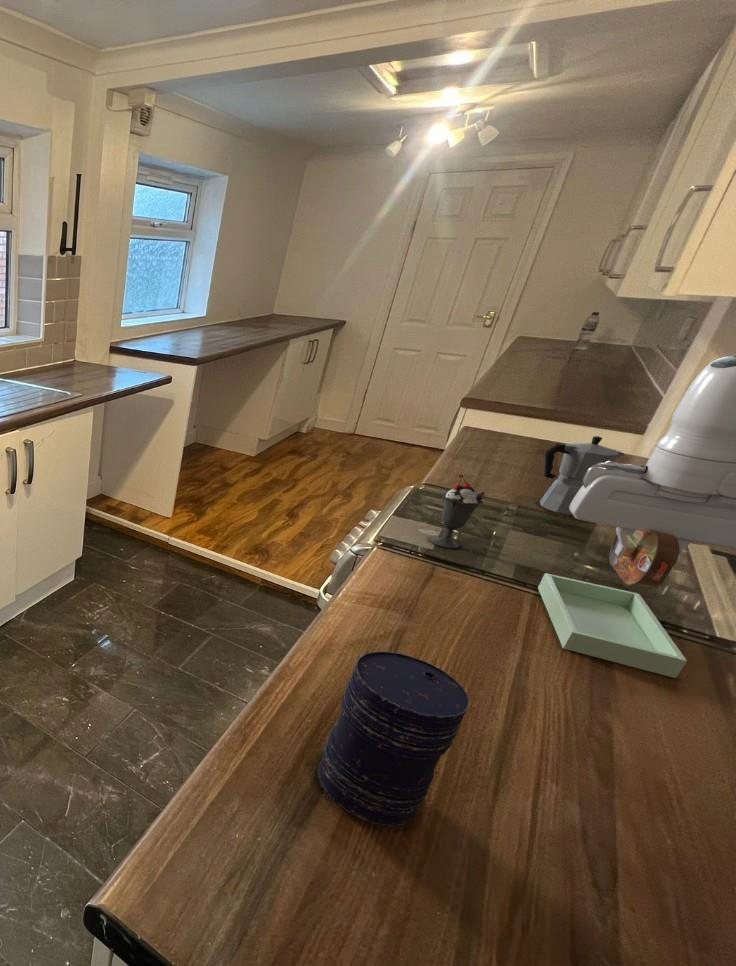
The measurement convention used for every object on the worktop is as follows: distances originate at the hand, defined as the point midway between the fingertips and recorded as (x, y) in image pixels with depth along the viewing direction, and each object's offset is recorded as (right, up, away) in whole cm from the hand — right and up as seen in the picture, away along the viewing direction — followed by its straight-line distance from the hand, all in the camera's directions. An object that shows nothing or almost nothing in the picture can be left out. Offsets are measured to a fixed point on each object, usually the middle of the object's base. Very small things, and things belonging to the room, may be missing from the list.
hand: (638, 558), depth 88 cm
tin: (0, -3, +1) cm, 3 cm away
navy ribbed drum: (-56, -25, -24) cm, 66 cm away
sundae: (-6, +2, +33) cm, 33 cm away
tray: (0, -11, +6) cm, 13 cm away
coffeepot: (+37, +10, +52) cm, 65 cm away
